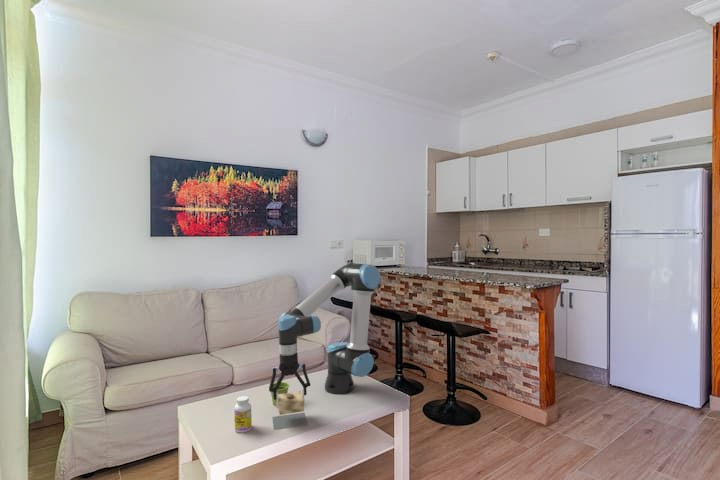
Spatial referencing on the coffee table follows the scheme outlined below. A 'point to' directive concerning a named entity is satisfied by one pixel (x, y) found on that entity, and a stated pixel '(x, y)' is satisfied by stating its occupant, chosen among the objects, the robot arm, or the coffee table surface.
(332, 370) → the robot arm
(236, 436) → the coffee table surface
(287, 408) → the lid
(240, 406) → the supplement bottle
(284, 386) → the plant pot
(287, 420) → the mat
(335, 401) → the coffee table surface
